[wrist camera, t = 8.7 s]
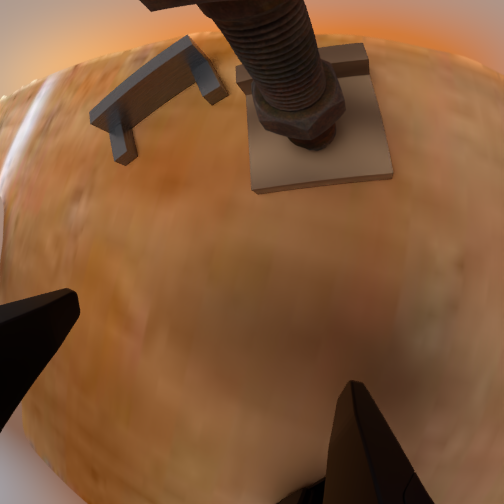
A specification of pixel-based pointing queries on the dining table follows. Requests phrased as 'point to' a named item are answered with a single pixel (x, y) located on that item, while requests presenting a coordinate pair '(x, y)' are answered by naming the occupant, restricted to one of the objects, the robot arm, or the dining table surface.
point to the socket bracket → (154, 93)
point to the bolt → (279, 65)
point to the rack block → (335, 154)
